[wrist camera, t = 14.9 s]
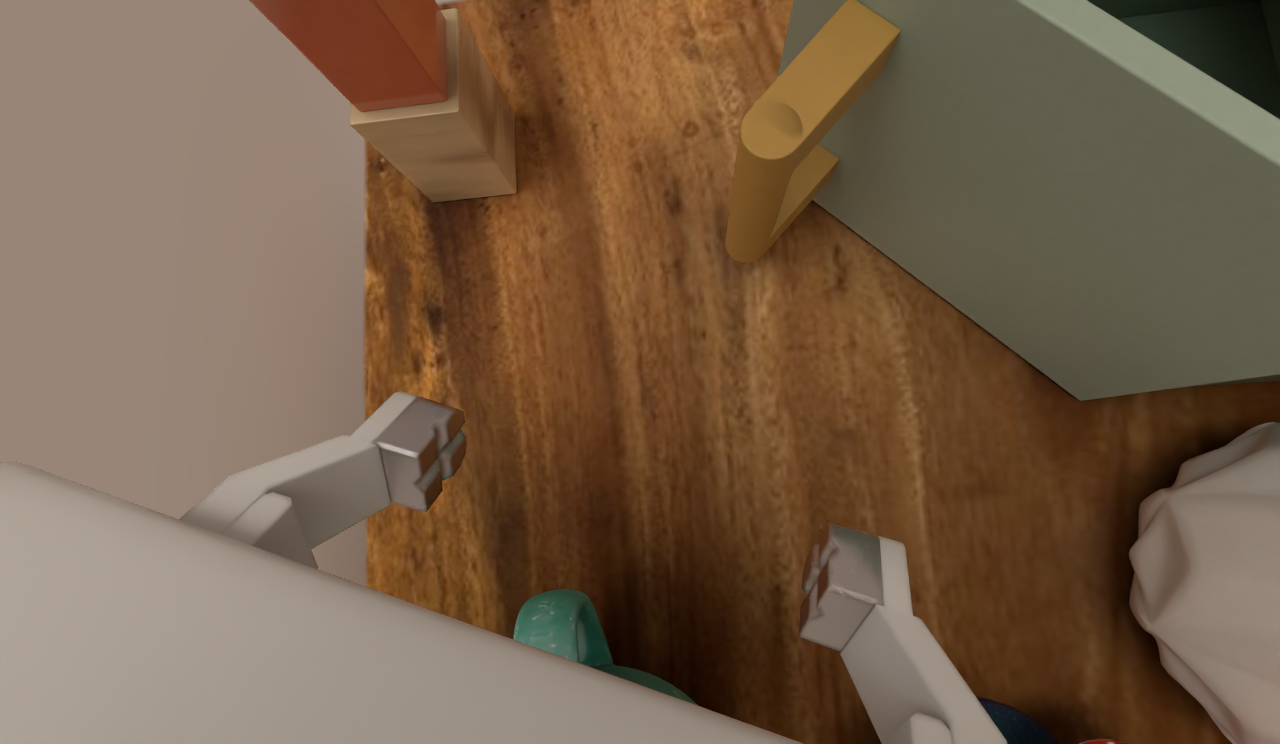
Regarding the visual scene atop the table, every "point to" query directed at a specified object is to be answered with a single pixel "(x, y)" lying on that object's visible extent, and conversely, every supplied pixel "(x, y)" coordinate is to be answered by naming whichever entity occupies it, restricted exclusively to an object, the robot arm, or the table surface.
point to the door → (1031, 182)
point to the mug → (578, 636)
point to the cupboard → (1216, 49)
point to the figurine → (1023, 726)
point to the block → (369, 47)
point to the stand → (451, 129)
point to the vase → (1218, 582)
